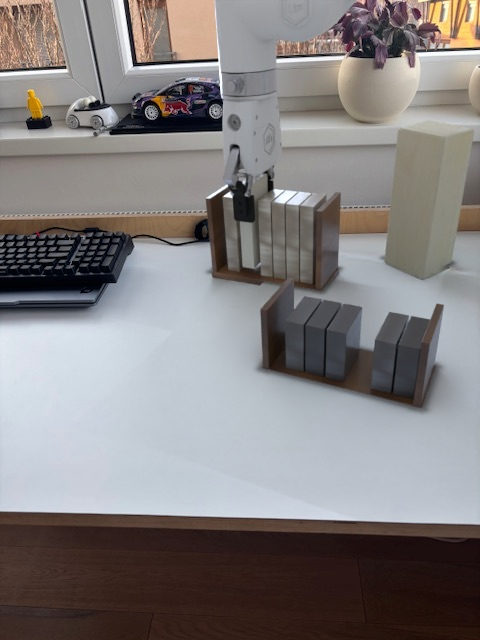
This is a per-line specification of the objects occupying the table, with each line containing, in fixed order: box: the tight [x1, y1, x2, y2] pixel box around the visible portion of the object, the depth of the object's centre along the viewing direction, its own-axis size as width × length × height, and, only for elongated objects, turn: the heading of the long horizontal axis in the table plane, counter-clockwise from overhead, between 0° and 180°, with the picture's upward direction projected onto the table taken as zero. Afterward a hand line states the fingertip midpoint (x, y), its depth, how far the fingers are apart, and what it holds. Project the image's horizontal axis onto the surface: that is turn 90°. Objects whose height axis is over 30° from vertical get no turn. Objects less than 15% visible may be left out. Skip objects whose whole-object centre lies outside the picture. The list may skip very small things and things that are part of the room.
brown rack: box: [205, 184, 342, 292], centre depth 82 cm, size 18×8×13 cm, turn 63°
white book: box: [240, 173, 268, 269], centre depth 82 cm, size 2×6×13 cm, turn 153°
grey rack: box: [259, 278, 445, 409], centre depth 61 cm, size 18×8×9 cm, turn 63°
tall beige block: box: [384, 120, 475, 280], centre depth 80 cm, size 8×7×21 cm
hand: (254, 212), depth 82 cm, fingers closed on white book, 6 cm apart
